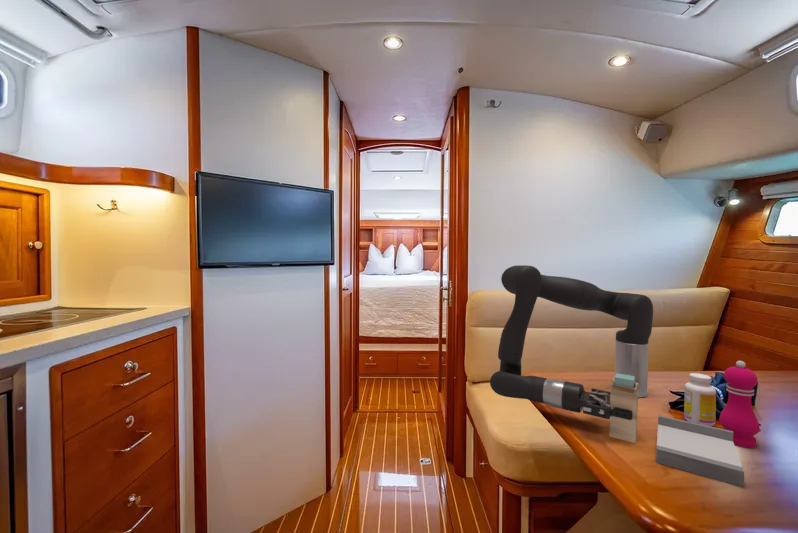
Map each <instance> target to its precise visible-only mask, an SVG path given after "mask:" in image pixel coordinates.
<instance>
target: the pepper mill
mask: <svg viewBox="0 0 798 533" xmlns="http://www.w3.org/2000/svg"><path fill="white" fill-rule="evenodd" d="M746 364H747V363H746V362H744V361H743V360H737V361H736V362H735V365H736V366H730V367H727V368H726V369H725V370H724V372H723V378H724V380H725V381H726V383H727V384H726V391H727V392H728V398H727V402H726V404H725V406H724V408H723V410H722V411H721V412H720V414H719V419H718V420H719V424H720V425H721V427H722V429H725V430H729V431H733V443H734V445H735V446H738V447H742V448H750V449H753V448H756V446H757V438H756V437H755V436H756V435H757V434H758V433H760V430H761V429H760V423H759V420H758V418H757V416H756V414H755V412H754V409H753V404H752V397H753V396H754V395H755V389H754V387H756V386H757V384H758V381H759V380H758V377H757V374H756V373H755V372H754V371H753V370H751V369H750V368H747V367H746V366H747V365H746Z"/></svg>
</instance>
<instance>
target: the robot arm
mask: <svg viewBox="0 0 798 533" xmlns="http://www.w3.org/2000/svg"><path fill="white" fill-rule="evenodd" d="M500 280H501V284H502V286H503V288H504V289H505V290H506V291H507V292H509V293H510V294H512V295H515V296H514V297H515V298H514V304H513V308H512V310H511V313H510V316H509V318H508V319H507V321H506V323H505V325H504V327H503V329H502V332H501V335H500V339H499V346H498V351H497V358H498V359H499V361H500V363H499V364H500V366H499V371H496V372H494V373H493V374H492V375H491V377H490V379H489V385H490V388H491V390H492V391H493V392H494V393H495V394H496V395H498V396H502V397H506V398H512V399H519V400H520V399H521V400H523V399H524V400H529V401H531V402H534V403H535V402H536V403H538V404H539V403H540V404H544V405H547V406H549V407H553V408H557V409H561V410H565V411H569V412H573V413H578V414H580V413H582V414H585V415H588V416H593V417H598V418H601V419H605V420H610V417H619V418H623V419H627V420H632V415H633V412H632V411H631V410H627V409H623V408H618V407H615V409H614V407H613V406H611V405H610V391H608V390H607V391H606V390H601V389H596V388H591V389H590V390H591V391H585V387H584V385H583V384H582V383H577V382H572V381H567V380H563V379H556V378H546V377H543V376H536V375H522V357H523V353H524V347H525V341H526V335H527V331H528V327H529V324H530V320H531V317H532V315H533V311H534V309H535V305H536V303H537V300H538V298H540V299H544V300H547V301H550V302H552V303H555V304H559V305H562V306H564V307H565V306H566V307H569V308H572V309H576V310H581V311H596V312H601V313H604V314H607V315H610V316H612V317H615V318H616V319H617V318H618V319H620V320H623V321H627V325H626V328H624V329H622V330H621V329H620V330H618V331H616V333H615V352H614V353H615V357H614V358H615V359H614V367H615V368H614V376H615V375H616V373H618V374H624V375H630V376H635V383H638V398H646V397H647V396H648V380H649V379H648V377H649V371H648V370H649V340H650V337H651V335H652V330H653V321H654V320H653V319H654V306H653V302H652V300H651V298H650V297H649V296H648V295H645V294H640V293H639V294H638V293H630V292H618V291H617V292H616V291H609V290H604V289H602V288H600V287H598V286H597V285H595V284H593V283H591V282H588V281H584V280H581V279H576V278H572V277H566V276H556V275H554V276H552V275H546V274H545V275H544V274H541V272H540V270H539V269H538V268H537V267H535V266H532V265H526V264H525V265H523V264H522V265H519V264H518V265H512V266H510V267H507V268H506V269H505V270H504V271H503V272H502V274H501V278H500Z"/></svg>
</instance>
